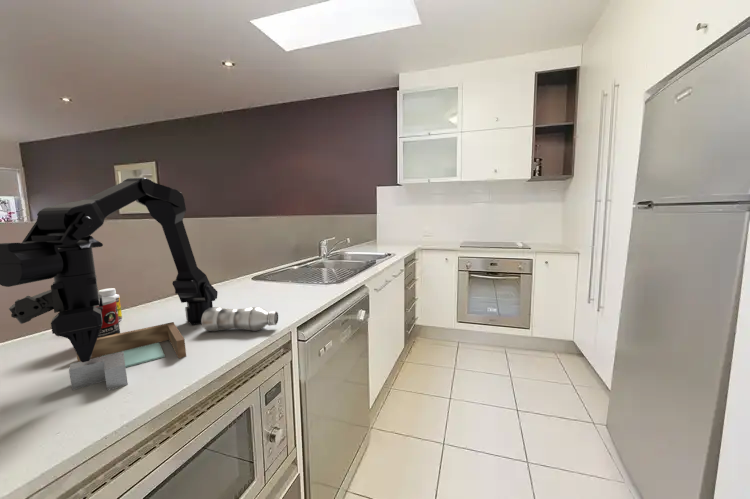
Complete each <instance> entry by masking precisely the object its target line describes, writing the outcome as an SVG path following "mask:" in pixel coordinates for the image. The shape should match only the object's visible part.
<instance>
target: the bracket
mask: <svg viewBox="0 0 750 499" xmlns="http://www.w3.org/2000/svg"><path fill="white" fill-rule="evenodd" d="M126 369H127V367H125V359H124V352H121V351H120V352H119V353H117V352H116V353H114V354H110V355H106V356H102V357H101V356H100V357H95V358H91V359H90V360H89V361H87V362H81V361H79V362H78V361H77V362H73V363H70V364H69V368H68V373H69V377H70V378H69V379H70V384H71V385H70V386H71V390H72V391H73V390H77V389H81V388H84V387H88V386H92V385H96V384H99V383H102V382H105V384H106V391H111V390H114V389H117V388H120V387H124V386H128V385H129V384H128V383H129V382H128V377H127V370H126Z"/></svg>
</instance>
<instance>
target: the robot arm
mask: <svg viewBox="0 0 750 499" xmlns="http://www.w3.org/2000/svg"><path fill="white" fill-rule="evenodd" d="M183 195H184V194H183V193H182V192H181V191H179V190H177V189H176V188H172V187H169V186H166V185H163V184H161V183H157V182H154V180H153V181H152V179H149V178H146V177H128V178H126V179H124V180H123V181H122V182H120V183H118V184H116V185H113V186H111V187H109V188H106V189H104V190H102V191H100V192H98V193H96V194H94V195H91V196H88V197H86V198H85V199H82V200H77V201H72V202H65V203H60V204H57V205H51V206H47V207H44V208H42V209H40V210H39V211H38V212H37V213H36V214H37V217H36V218H37V219H36V221H35V222H34V224H33V226H32V227H31V229H30V230H29V231H28V233H27V234H26V236H25V237H24V239H23V240H22V242H2V243H0V286H2V287H6V288H9V287H11V288H12V287H15V286H20V285H26V284H30V283H34V282H35V283H36V282H39V281H40V282H41V281H45V280H50V279H53V283H52V284H51V285H50V289H49V290H47V291H43V292H41V293H38V294H36V295H33V296H30V295H26V296H25V297H23V298H21V299H20V298H19V299H17V300H15V302H14V303H13V304H12V305H11V306H10V307H9V308H8V310H9V311H10V313H11V318H13V319H16V320H17V321H18V322H19V324H21V325H23V324H25V323H27V322H30V321H32V320H33V319H34V318H36V317H39V316H41V315H44V314H46V313H48V312H50V311H53V312H54V313H55V316H53V318H52V320H51V321H50V329H51V333H52V335H53V334H54V335H55V336H56V337H62V338H65V339H68V340H69V342H70V343H71V345H72V347H73V349H74V351H75V352H76V353H77V354H76V356H77V355H78V357H79V359H80V360H81V361H80V362H87V361H89V360H90V358H91V355H92V352H93V349H94V346H95V343H96V341H97V338H98V335H99V332H100V330H101V327H102V310H103V307H101V306H103V300H102V295H100V294H99V292H98V291H99V288H98V278H97V274H96V273H97V272H96V267H95V260H94V254H93V248H95V249H96V248H102V247H103V245H104V244H103V242H101V241H99V240H97V239H96V238H94V237H93V234H94V233H95V232H96V231H97V230H99V229H100V228H101V227H103V225H104V223H105V219H106V218H108V216H110V215H112V214H113V213H116V212H117V211H120V210H121V209H123V208H124V207H126V206H129V205H130V204H132V203H134V202H135V201H136V202H137V203H138V204H140V205H142V206H145V207H146V209H147V211H148V212H149V215H150V217H152V218H153V219H154V220H155V222H157V223H158V224H160V225H161V228H162V230H163V233H164V234H163V235H164V236H165V239H166V241H167V245H168V248H169V250H170V254H171V256H172V260H173V262H174V265H175V268H176V271H177V274H176V278H175V279H174V280H172V286H173V287H174V292H175V293H174V294H175V295H176V294H177V296H178V299H179V300H180V303H182V304H183V303H186V306H185V308H184V311H185V316H186V317H185V320H186V321H187V323H189V324H190V325H191V326H193V325H194V326H195V325H199V324H202V323H201V319H202V315H203V313H204V311H205V310H207V309H208V308H212V307H214V306H213V304H214V303H213V302H216V300H217V299H218V293H219V292H218V290H217V289H216V288H215V287H214V286H213V284H212V283H211V282H210V281H209V278H208V276H207V274H206V273H205V272H203V271H202V270H201V269H200V268H199V267H198V264H197V262H196V258H195V256H194V253H193V249H192V246H191V244H190V240H189V236H188V234H187V231H186V228H185V224H184V218H185V214H186V211H187V208H186V207H187V206H186V202H185V197H184V196H183ZM96 305H99V307H94V306H96ZM91 359H92V358H91Z"/></svg>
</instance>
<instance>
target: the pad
mask: <svg viewBox="0 0 750 499" xmlns="http://www.w3.org/2000/svg"><path fill="white" fill-rule="evenodd" d="M120 352H124V359H125V367H126V368H130V367H133V366H137V365H139V364H144V363H147V362H152V361H156V360H158V359H162V358H165V353H164V351H163V349H162V346H161V343H160V342H158V343H154V344H150V345H145V346H141V347H137V348H133V349H129V350H125V351H120ZM116 353H119V352H116ZM112 354H114V353H112ZM108 355H110V354H108ZM104 356H106V355H104ZM100 357H102V356H100Z"/></svg>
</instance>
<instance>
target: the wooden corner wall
mask: <svg viewBox="0 0 750 499" xmlns="http://www.w3.org/2000/svg"><path fill="white" fill-rule="evenodd" d="M166 341H169V342H170V345H171V347H172V348H173V350H174V352H175V354H176V356H177V358H178V359H181V358H186V357H187V350H186V342H185V341H186V340H185V338H184V336H183V335H182V333H181V332H180V330H179V329H178V327H177V325H176V324H175V322H174V321H173V322H167V323H162V324H158V325H152V326H149V327H143V328H139V329H134V330H129V331H124V332H120V333H119V334H114V335H109V336H105V337H100V338H97V341H96V343H95V346H94V349H93V352H92V355H91V358H90V359H94V358H98V357H101V356H104V355H108V354H112V353H117V352H121V351H125V350H129V349H133V348H137V347H142V346H146V345H150V344H154V343H158V342H159V343H162V342H166ZM76 359H77V362H81V360H80V359H79V357H78V355H77V353H76Z"/></svg>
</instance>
